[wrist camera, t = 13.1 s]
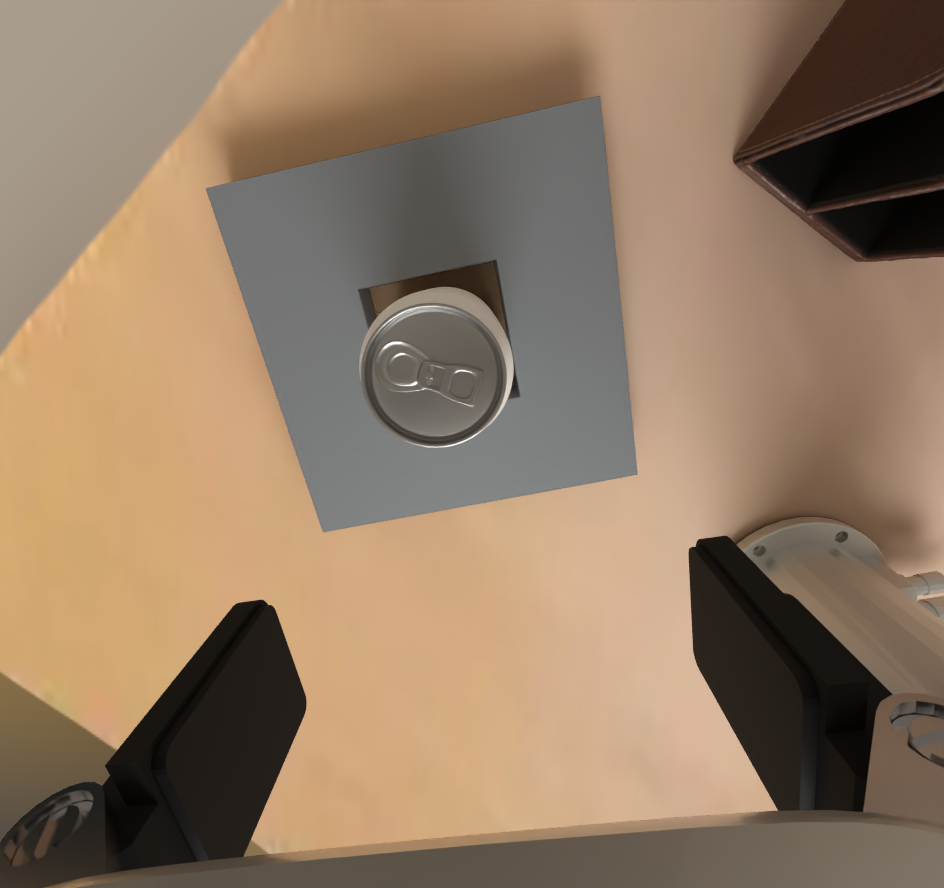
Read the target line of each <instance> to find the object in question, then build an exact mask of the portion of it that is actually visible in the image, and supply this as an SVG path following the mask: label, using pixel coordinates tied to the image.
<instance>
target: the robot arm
mask: <svg viewBox="0 0 944 888" xmlns="http://www.w3.org/2000/svg"><path fill="white" fill-rule="evenodd" d="M689 572H690V593H691V613H692V634H693V651H694V656H695V660H696V663H697V666H698V668H699V670H700V672H701V673H702V675H703V677H704V679H705V680H706V682H707V684H708V686H709V688H710V689H711V691H712V693H713V695H714V697H715V698H716V700H717V702H718V704H719V706H720V707H721V709H722V711H723V713H724V714H725V716H726V718H727V720H728V722H729V723H730V725H731V727H732V729H733V731H734V732H735V734H736V736H737V738H738V740H739V741H740V743H741V745H742V747H743V749H744V750H745V752H746V754H747V756H748V757H749V759H750V761H751V763H752V765H753V766H754V768H755V770H756V772H757V774H758V775H759V777H760V779H761V781H762V783H763V784H764V786H765V788H766V790H767V792H768V793H769V795H770V797H771V799H772V800H773V802H774V804H775V806H776V808H777V809H778V811H766V812H751V813H736V814H721V815H706V816H691V817H676V818H663V819H651V820H640V821H628V822H616V823H605V824H593V825H581V826H569V827H558V828H546V829H534V830H523V831H512V832H501V833H490V834H479V835H468V836H457V837H445V838H434V839H424V840H413V841H402V842H391V843H381V844H370V845H359V846H348V847H338V848H328V849H318V850H308V851H298V852H288V853H277V854H267V855H257V856H247V857H243V856H244V853H245V851H246V849H247V847H248V845H249V842H250V840H251V838H252V835H253V833H254V831H255V828H256V826H257V824H258V821H259V819H260V817H261V814H262V812H263V810H264V807H265V805H266V803H267V800H268V798H269V796H270V794H271V791H272V789H273V787H274V784H275V782H276V780H277V777H278V775H279V773H280V770H281V768H282V766H283V763H284V761H285V759H286V756H287V754H288V752H289V749H290V747H291V745H292V743H293V740H294V738H295V736H296V733H297V731H298V729H299V726H300V724H301V722H302V719H303V717H304V714H305V711H306V696H305V693H304V690H303V687H302V684H301V681H300V678H299V676H298V673H297V670H296V667H295V664H294V661H293V659H292V656H291V653H290V650H289V647H288V644H287V642H286V639H285V636H284V633H283V630H282V627H281V625H280V622H279V619H278V616H277V613H276V611H275V609H274V607H273V606H271V605H268V604H267V603H266V602H265V601H264V600H256V601H249V602H241V603H237V604H235V605H234V606H233V607H232V609H231V610H230V611H229V612H228V613H227V615H226V616H225V617H224V618H223V620H222V621H221V622H220V623H219V625H218V626H217V627H216V628H215V630H214V631H213V632H212V633H211V635H210V636H209V637H208V638H207V640H206V641H205V642H204V643H203V645H202V646H201V647H200V648H199V650H198V651H197V652H196V653H195V654H194V656H193V657H192V658H191V659H190V661H189V662H188V663H187V664H186V666H185V667H184V668H183V669H182V671H181V672H180V673H179V674H178V676H177V677H176V678H175V679H174V681H173V682H172V683H171V684H170V686H169V687H168V688H167V689H166V691H165V692H164V693H163V694H162V695H161V697H160V698H159V699H158V700H157V702H156V703H155V704H154V705H153V707H152V708H151V709H150V710H149V712H148V713H147V714H146V715H145V717H144V718H143V719H142V720H141V722H140V723H139V724H138V725H137V727H136V728H135V729H134V730H133V732H132V733H131V734H130V735H129V736H128V738H127V739H126V740H125V741H124V743H123V744H122V745H121V746H120V748H119V749H118V750H117V751H116V753H115V754H114V755H113V756H112V758H111V759H110V760H109V761H108V763H107V764H106V765H105V767H106V768H107V770H108V772H109V774H110V777H109V778H108V779H107V781H106V782H105V783H104V784H103V786H102V785H100V784H98V783H96V782H81V783H78V784H75V785H71V786H69V787H66V788H64V789H62V790H60V791H58V792H56V793H54V794H52V795H51V796H49V797H48V798H46V799H45V800H43V801H42V802H40V803H39V804H37V805H36V806H35V807H34V808H32V809H31V810H30V811H29V812H27V813H26V814H25V815H24V816H23V817H21V818H20V819H19V820H18V822H16V823H15V824H14V825H13V827H12V828H11V829H10V830H9V831H8V832H7V833H6V834H5V836H4V837H3V838H2V840H1V841H0V888H944V596H940V597H933V598H927V599H921V600H918V601H917V602H916V599H917V595H930V594H936V593H942V592H944V575H943V574H941V573H939V572H937V571H934V572H928V573H922V574H916V575H913V576H910V577H904V576H903V575H900V574H897V573H896V572H895V571H893V570H892V569H890V568H889V567H887V564H886V561H885V559H884V556H883V554H882V553H881V551H880V550H879V548H878V547H877V546H876V544H875V543H874V542H872V541H871V540H870V539H869V538H868V537H867V536H865V535H864V534H863V533H861V532H859V531H858V530H856V529H855V528H853V527H851V526H850V525H847V524H845V523H842V522H840V521H837V520H834V519H828V518H822V517H798V518H793V519H787V520H782V521H779V522H776V523H774V524H771V525H768V526H765V527H763V528H761V529H759V530H758V531H756V532H754V533H752V534H750V535H749V536H747V537H746V538H744V539H743V540H742V541H740V542H739V543H738V544H735V543H734V542H733V541H732V540H731V539H730V538H729V537H728V536H720V537H713V538H705V539H699V540H698V541H697V544H696V547H691V548H690V549H689Z"/></svg>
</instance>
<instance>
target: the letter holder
mask: <svg viewBox="0 0 944 888" xmlns="http://www.w3.org/2000/svg"><path fill="white" fill-rule="evenodd" d="M733 162H734V163H735V164H736V165H737V166H738V167H739V168H740V169H741V170H743V171H744V172H745V173H746V174H747V175H749V176H750V177H751V178H752V179H753V180H755V181H756V182H757V183H758V184H759V185H761V186H762V187H764V188H765V189H766V191H768V192H769V193H770V194H772V195H773V196H775V197H776V198H777V199H778V200H779V201H781V202H782V203H783V204H784V205H786V206H787V207H788V208H789V209H790V210H792V211H793V212H794V213H795V214H797V215H798V216H800V217H801V219H803V220H804V221H805V222H807V223H808V224H809V225H810V226H812V227H813V228H814V229H815V230H817V231H818V232H819V233H820V234H821V235H823V236H824V237H825V238H826V239H828V240H829V241H830V242H831V243H832V244H833V245H835V246H837V247H838V248H839V249H841V250H842V251H843V252H844V253H846V254H847V255H848V256H850V257H851V258H852V259H854V260H855V261H858V262H862V261H865V262H868V261H870V262H872V261H873V262H876V261H886V260H887V261H892V260H899V259H910V258H928V257H944V0H846V1H845V2H844V4H843V5H842V7H841V8H840V10H839V11H838V12H837V14H836V15H835V17H834V18H833V20H832V21H831V23H830V24H829V25H828V27H827V28H826V30H825V31H824V32H823V34H822V35H821V37H820V38H819V39H818V41H817V42H816V44H815V45H814V47H813V48H812V49H811V51H810V52H809V54H808V55H807V56H806V58H805V59H804V61H803V62H802V63H801V65H800V66H799V68H798V69H797V70H796V72H795V73H794V75H793V76H792V77H791V79H790V80H789V82H788V83H787V85H786V86H785V87H784V89H783V90H782V92H781V93H780V94H779V96H778V97H777V99H776V100H775V101H774V103H773V104H772V106H771V107H770V108H769V110H768V111H767V113H766V114H765V116H764V117H763V118H762V120H761V121H760V123H759V124H758V126H757V127H756V128H755V130H754V131H753V132H752V134H751V135H750V136H749V137H748V139H747V140H746V142H745V143H744V145H743V146H742V147H741V148H740V150H739V151H738V152H737V154H736V155H735V157H734V158H733Z"/></svg>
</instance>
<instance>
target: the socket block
mask: <svg viewBox="0 0 944 888" xmlns="http://www.w3.org/2000/svg"><path fill="white" fill-rule="evenodd" d="M206 191H207V194H208V196H209V199H210V202H211V205H212V208H213V211H214V214H215V217H216V220H217V223H218V226H219V229H220V232H221V235H222V237H223V240H224V243H225V246H226V249H227V252H228V255H229V258H230V261H231V264H232V267H233V270H234V273H235V276H236V278H237V281H238V284H239V287H240V290H241V293H242V296H243V299H244V302H245V305H246V308H247V311H248V314H249V317H250V320H251V322H252V325H253V328H254V331H255V334H256V337H257V340H258V343H259V346H260V349H261V352H262V355H263V358H264V361H265V363H266V366H267V369H268V372H269V375H270V378H271V381H272V384H273V387H274V390H275V393H276V396H277V399H278V402H279V404H280V407H281V410H282V413H283V416H284V419H285V422H286V425H287V428H288V431H289V434H290V437H291V440H292V443H293V446H294V448H295V451H296V454H297V457H298V460H299V463H300V466H301V469H302V472H303V475H304V478H305V481H306V484H307V487H308V489H309V492H310V495H311V498H312V501H313V504H314V507H315V510H316V513H317V516H318V519H319V522H320V525H321V528H322V530H323V532H328V531H333V530H339V529H344V528H349V527H355V526H360V525H366V524H371V523H377V522H382V521H388V520H393V519H399V518H404V517H409V516H415V515H420V514H426V513H431V512H437V511H442V510H448V509H453V508H458V507H464V506H469V505H475V504H480V503H486V502H491V501H497V500H502V499H508V498H513V497H518V496H524V495H529V494H535V493H540V492H546V491H551V490H557V489H562V488H568V487H573V486H578V485H584V484H589V483H595V482H600V481H606V480H611V479H617V478H622V477H627V476H633V475H638V474H637V464H636V454H635V444H634V433H633V423H632V413H631V403H630V393H629V383H628V372H627V362H626V352H625V342H624V332H623V322H622V312H621V301H620V291H619V281H618V271H617V261H616V251H615V240H614V230H613V220H612V210H611V200H610V190H609V179H608V169H607V159H606V149H605V139H604V129H603V118H602V108H601V98H600V96H597V97H593V98H589V99H585V100H580V101H576V102H572V103H568V104H563V105H559V106H555V107H551V108H546V109H542V110H538V111H533V112H529V113H525V114H521V115H516V116H512V117H508V118H504V119H499V120H495V121H491V122H487V123H482V124H478V125H474V126H470V127H465V128H461V129H457V130H453V131H448V132H444V133H440V134H436V135H431V136H427V137H423V138H419V139H414V140H410V141H406V142H401V143H397V144H393V145H389V146H384V147H380V148H376V149H372V150H367V151H363V152H359V153H355V154H350V155H346V156H342V157H338V158H333V159H329V160H325V161H321V162H316V163H312V164H308V165H304V166H299V167H295V168H291V169H286V170H282V171H278V172H274V173H269V174H265V175H261V176H257V177H252V178H248V179H244V180H240V181H235V182H231V183H227V184H223V185H218V186H214V187H210V188H206ZM493 261H494V264H495V269H496V275H497V281H498V286H499V292H500V298H501V304H502V309H503V315H504V321H505V326H506V332H507V338H508V341H509V344H510V347H511V351H512V356H513V365H514V378H515V383H516V386H515V387H511V391H510V394H509V397H508V399H507V401H506V403H505V405H504V407H503V409H502V410H501V412H500V413H499V415H498V416H497V417H496V419H495V420H494V421H493V422H492V423H491V424H490V425H489V426H488V427H486V428H485V429H484V430H482V431H481V432H480V433H479V434H477V435H476V436H474V437H473V438H471V439H469V440H467V441H465V442H463V443H460V444H457V445H454V446H449V447H442V448H429V447H422V446H417V445H414V444H411V443H408V442H406V441H403V440H401V439H399V438H398V437H396V436H394V435H393V434H392V433H390V432H389V431H388V430H386V429H385V428H384V427H383V426H382V425H381V424H380V423H379V421H378V420H377V419H376V418H375V416H374V415H373V413H372V412H371V410H370V408H369V406H368V404H367V402H366V400H365V397H364V394H363V390H362V385H361V380H360V372H359V361H360V353H361V348H362V344H363V341H364V339H365V336H366V334H367V332H368V330H369V328H370V327H371V325H372V324H373V322H374V321H375V319H376V318H377V317H376V313H375V310H374V306H373V302H372V298H371V294H370V290H369V288H372V287H377V286H382V285H386V284H391V283H396V282H400V281H405V280H409V279H414V278H419V277H423V276H428V275H433V274H437V273H442V272H446V271H451V270H456V269H460V268H465V267H470V266H474V265H479V264H484V263H488V262H493Z"/></svg>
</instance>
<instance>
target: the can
mask: <svg viewBox="0 0 944 888" xmlns="http://www.w3.org/2000/svg"><path fill="white" fill-rule="evenodd" d="M359 372H360V380H361V385H362V390H363V394H364V397H365V400H366V402H367V404H368V406H369V408H370V410H371V412H372V413H373V415H374V416H375V418H376V419H377V420H378V421H379V423H380V424H381V425H382V426H383V427H384V428H385V429H386V430H388V431H389V432H390V433H392V434H393V435H394V436H396V437H398V438H399V439H401V440H403V441H406V442H408V443H411V444H414V445H417V446H422V447H429V448H442V447H449V446H454V445H457V444H460V443H463V442H465V441H467V440H469V439H471V438H473V437H474V436H476V435H477V434H479V433H480V432H481V431H482V430H484V429H485V428H486V427H488V426H489V425H490V424H491V423H492V422H493V421H494V420H495V419H496V417H497V416H498V415H499V413H500V412H501V410H502V409H503V407H504V405H505V403H506V401H507V399H508V397H509V394H510V391H511V387H512V382H513V372H514V365H513V356H512V351H511V347H510V344H509V341H508V338H507V336H506V334H505V332H504V330H503V328H502V326H501V325H500V323H499V321H498V320H497V318H496V317H495V315H494V314H493V312H492V311H491V309H490V308H489V307H488V306H487V305H486V304H485V303H484V302H483V301H482V300H481V299H480V298H479V297H477V296H476V295H474V294H472V293H471V292H468V291H466V290H463V289H460V288H455V287H437V288H431V289H427V290H422V291H419V292H415V293H412V294H409V295H407V296H405V297H403V298H401V299H399V300H397V301H395V302H394V303H392V304H391V305H389V306H388V307H387V308H386V309H385V310H384V311H382V312H381V313H380V315H379V316H378V317H377V318H376V319H375V321H374V322H373V324H372V325H371V327H370V328H369V330H368V332H367V334H366V336H365V339H364V341H363V344H362V348H361V353H360V361H359Z"/></svg>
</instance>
